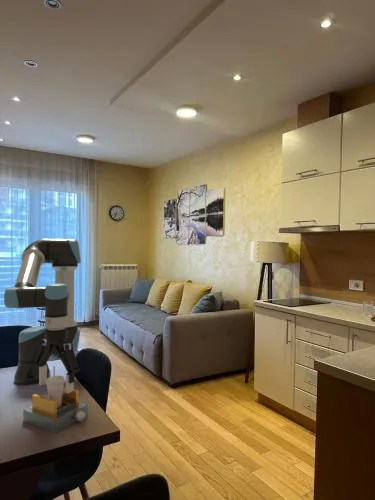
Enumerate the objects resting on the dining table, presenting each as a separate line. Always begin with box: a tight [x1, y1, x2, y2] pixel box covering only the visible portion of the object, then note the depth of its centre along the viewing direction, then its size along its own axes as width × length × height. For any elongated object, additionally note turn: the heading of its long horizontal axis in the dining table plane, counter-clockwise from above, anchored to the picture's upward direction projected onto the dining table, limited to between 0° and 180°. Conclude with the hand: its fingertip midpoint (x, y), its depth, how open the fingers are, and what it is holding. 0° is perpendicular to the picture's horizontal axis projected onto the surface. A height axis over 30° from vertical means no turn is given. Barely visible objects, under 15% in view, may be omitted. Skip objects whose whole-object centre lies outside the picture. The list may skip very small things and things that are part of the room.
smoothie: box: [45, 365, 66, 408], centre depth 124 cm, size 6×6×14 cm
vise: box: [22, 385, 88, 434], centre depth 124 cm, size 19×14×9 cm
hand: (56, 387), depth 124 cm, fingers open, 13 cm apart
